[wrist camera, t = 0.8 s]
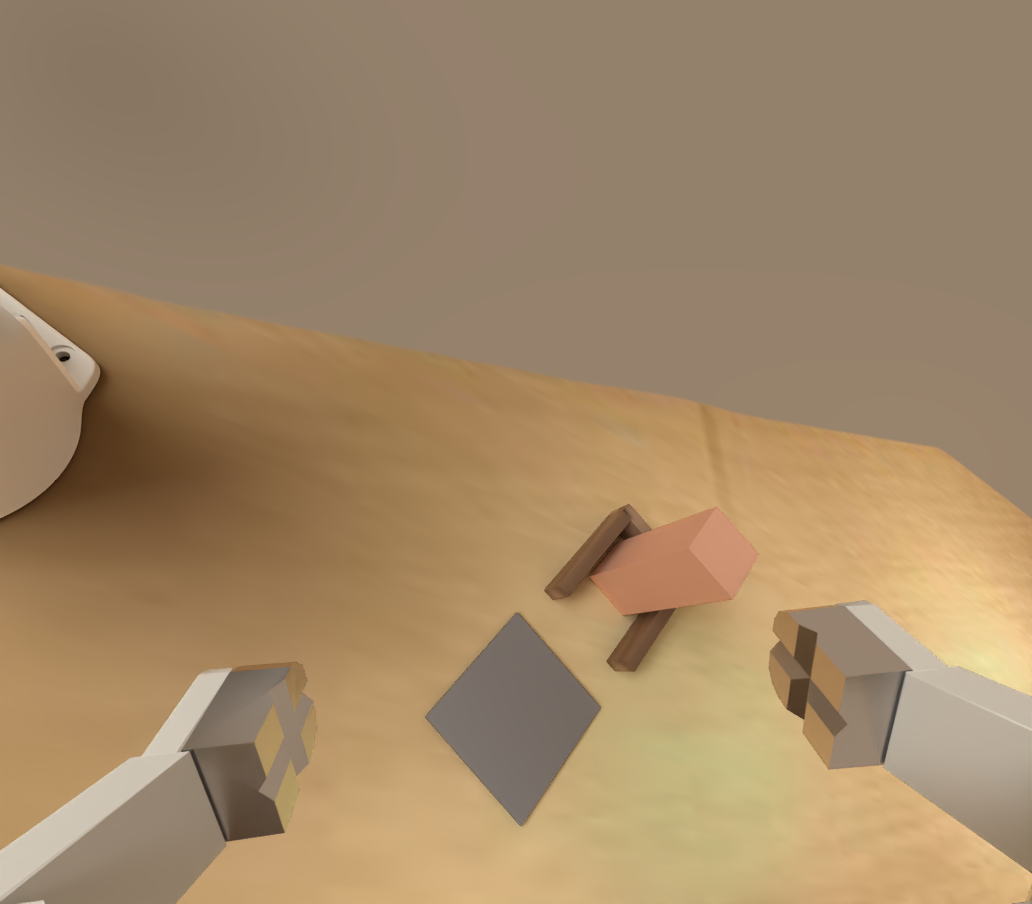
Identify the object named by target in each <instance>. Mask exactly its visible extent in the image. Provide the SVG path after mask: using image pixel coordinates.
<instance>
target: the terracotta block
mask: <svg viewBox="0 0 1032 904" xmlns="http://www.w3.org/2000/svg"><path fill="white" fill-rule="evenodd" d="M758 555H759V554H758V552H757V551H756V550H755V549H754V548H753V547H752V546H751V545H750V543H749V542H748V541H747V540H746V539H745V538H744V537H743V535H742V534H741V533H740V532H739V531H738V530H737V529H736V527H735V526H734V525H733V524H732V523H731V522H730V521H729V519H728V518H727V517H726V516H725V515H724V514H723V513H722V511H721V510H720V509H719V508H718V507H714V508H712V509H709V510H706V511H703V512H701V513H698V514H695V515H692V516H689V517H687V518H684V519H681V520H678V521H676V522H673V523H670V524H667V525H665V526H662V527H659V528H656V529H654V530H651V531H648V532H645V533H643V534H640V535H637V536H634V537H632V538H629V539H626V540H623V541H621V542H618V543H616V544H615V545H614V546H613V548H612V549H611V550H610V551H609V553H608V554H607V555H606V556H605V557H604V559H603V560H602V561H601V562H600V564H599V565H598V566H597V567H596V569H595V570H594V571H593V572H592V573H591V575H590V576H589V577H590V578H591V580H592V581H593V582H594V583H595V584H596V585H597V586H598V588H599V589H600V590H601V591H602V592H603V593H604V594H605V596H606V597H607V598H608V599H609V600H610V601H611V602H612V604H613V605H614V606H615V607H616V608H617V609H618V610H619V612H620V613H621V614H622V615H623V616H624V615H630V614H637V613H644V612H650V611H657V610H664V609H670V608H677V607H684V606H691V605H697V604H704V603H711V602H717V601H724V600H731V599H734V597H735V595H736V593H737V592H738V590H739V588H740V586H741V585H742V583H743V581H744V579H745V578H746V576H747V574H748V572H749V571H750V569H751V567H752V565H753V564H754V562H755V560H756V559H757V557H758Z"/></svg>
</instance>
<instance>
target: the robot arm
mask: <svg viewBox="0 0 1032 904" xmlns="http://www.w3.org/2000/svg"><path fill="white" fill-rule="evenodd" d="M65 356H67V357H70V359H69V360H68V361H65V362H60V361H59V359H60V358H62V357H65ZM99 377H100V368H99V366H98V364H97V363H96V362H95V361H94V360H93V359H92V358H91V357H90V356H89V355H88V354H87V353H85V352H84V351H83V350H81V349H80V348H79V347H77V346H76V345H75V344H73V343H72V342H71V341H69V340H68V339H67V338H66V337H64V336H63V335H62V334H60V333H59V332H58V331H56V330H55V329H54V328H52V327H51V326H50V325H48V324H47V323H46V322H45V321H43V320H42V319H41V318H39V317H38V316H37V315H35V314H34V313H33V312H31V311H30V310H29V309H27V308H26V307H25V306H24V305H22V304H21V303H20V302H18V301H17V300H16V299H14V298H13V297H12V296H10V295H9V294H8V293H6V292H5V291H4V290H3V289H1V288H0V518H2V517H4V516H6V515H8V514H10V513H12V512H14V511H16V510H17V509H19V508H21V507H23V506H24V505H26V504H27V503H29V502H30V501H32V500H33V499H35V498H36V497H37V496H39V495H40V494H41V493H42V492H44V491H45V490H46V489H47V488H48V487H49V486H50V485H51V484H52V483H53V482H54V481H55V480H56V479H57V478H58V477H59V476H60V474H61V473H62V472H63V471H64V469H65V468H66V466H67V465H68V463H69V462H70V460H71V458H72V456H73V454H74V452H75V450H76V447H77V444H78V441H79V437H80V432H81V420H82V409H83V405H84V402H85V400H86V399H87V397H88V396H89V394H90V393H91V391H92V390H93V388H94V387H95V385H96V383H97V382H98V379H99ZM773 632H774V633H775V634H776V636H777V637H778V638H779V639H780V641H779V642H778V643H777V644H776V645H775V647H774V648H773V649H772V650H771V651H770V660H769V670H770V675H771V679H772V684H773V686H774V688H775V691H776V693H777V695H778V697H779V699H780V700H781V702H782V703H783V705H784V706H785V708H786V709H787V710H788V711H790V712H792V713H793V714H795V715H797V716H798V717H800V718H802V719H803V720H804V724H803V734H804V735H805V737H806V738H807V739H808V741H809V742H810V744H811V745H812V746H813V748H814V749H815V751H816V752H817V754H818V755H819V756H820V758H821V759H822V761H823V762H824V764H825V765H826V766H827V768H828V769H840V768H852V767H863V766H875V765H884V766H883V768H884V769H886V770H887V771H888V772H890V773H891V774H893V775H894V776H895V777H897V778H898V779H900V780H901V781H902V782H904V783H905V784H907V785H908V786H910V787H911V788H912V789H914V790H915V791H917V792H918V793H919V794H921V795H922V796H924V797H925V798H926V799H928V800H929V801H931V802H932V803H933V804H935V805H936V806H938V807H939V808H941V809H942V810H943V811H945V812H946V813H948V814H949V815H950V816H952V817H953V818H955V819H956V820H957V821H959V822H960V823H962V824H963V825H964V826H966V827H967V828H969V829H970V830H972V831H973V832H974V833H976V834H977V835H979V836H980V837H981V838H983V839H984V840H986V841H987V842H988V843H990V844H991V845H993V846H994V847H995V848H997V849H998V850H1000V851H1001V852H1003V853H1004V854H1005V855H1007V856H1008V857H1010V858H1011V859H1012V860H1014V861H1015V862H1017V863H1018V864H1019V865H1021V866H1022V867H1024V868H1025V869H1026V870H1028V871H1029V872H1031V873H1032V696H1029V695H1027V694H1024V693H1022V692H1019V691H1017V690H1015V689H1012V688H1010V687H1007V686H1005V685H1003V684H1000V683H998V682H995V681H993V680H991V679H988V678H986V677H983V676H981V675H978V674H976V673H974V672H971V671H969V670H966V669H964V668H962V667H959V666H956V667H948V666H947V665H946V664H945V663H943V662H942V661H941V660H940V659H939V658H937V657H936V656H935V655H934V654H933V653H932V652H930V651H929V650H928V649H927V648H926V647H925V646H923V645H922V644H921V643H920V642H919V641H917V640H916V639H915V638H914V637H913V636H912V635H910V634H909V633H908V632H907V631H906V630H904V629H903V628H902V627H901V626H900V625H899V624H897V623H896V622H895V621H894V620H893V619H891V618H890V617H889V616H888V615H887V614H886V613H884V612H883V611H882V610H881V609H880V608H879V607H877V606H876V605H875V604H873V603H870V602H868V601H857V602H849V603H841V604H836V605H830V606H821V607H812V608H803V609H794V610H785V611H779V612H778V613H777V615H776V617H775V618H774V625H773ZM306 683H307V677H306V674H305V671H304V668H303V665H302V664H300V663H298V662H288V663H276V664H263V665H251V666H239V667H237V668H221V669H209V670H206V671H204V672H203V673H201V674H199V675H198V676H197V678H196V679H195V680H194V682H193V683H192V685H191V686H190V688H189V689H188V690H187V692H186V693H185V695H184V696H183V698H182V699H181V700H180V702H179V703H178V705H177V706H176V708H175V709H174V710H173V712H172V713H171V715H170V716H169V718H168V719H167V721H166V722H165V723H164V725H163V726H162V728H161V729H160V731H159V732H158V733H157V735H156V736H155V738H154V739H153V741H152V742H151V743H150V745H149V746H148V748H147V749H146V751H145V752H144V753H143V755H142V756H141V757H133V758H130V759H128V760H127V761H126V762H124V763H123V764H121V765H120V766H119V767H117V768H116V769H114V770H113V771H112V772H110V773H109V774H107V775H106V776H105V777H103V778H102V779H100V780H99V781H98V782H96V783H95V784H93V785H92V786H91V787H89V788H88V789H86V790H85V791H84V792H82V793H81V794H79V795H78V796H77V797H75V798H74V799H72V800H71V801H70V802H68V803H67V804H65V805H64V806H62V807H61V808H60V809H58V810H57V811H55V812H54V813H53V814H51V815H50V816H48V817H47V818H46V819H44V820H43V821H41V822H40V823H39V824H37V825H36V826H34V827H33V828H32V829H30V830H29V831H27V832H26V833H25V834H23V835H22V836H20V837H19V838H18V839H16V840H15V841H13V842H12V843H11V844H9V845H8V846H6V847H5V848H4V849H2V850H1V851H0V904H176V903H177V902H178V900H179V899H180V898H181V897H182V896H183V895H184V894H185V892H186V891H187V890H188V889H189V888H190V887H191V886H192V884H193V883H194V882H195V881H196V880H197V879H198V877H199V876H200V875H201V874H202V873H203V872H204V871H205V869H206V868H207V867H208V866H209V865H210V864H211V863H212V861H213V860H214V859H215V858H216V857H217V856H218V855H219V853H220V852H221V851H222V850H223V849H224V848H225V847H226V842H227V841H234V840H241V839H248V838H254V837H261V836H268V835H275V834H281V833H285V831H286V828H287V826H288V823H289V820H290V817H291V814H292V811H293V808H294V806H295V803H296V800H297V797H298V794H299V791H300V788H299V784H298V781H297V778H296V776H297V775H298V774H299V773H300V772H301V771H302V770H303V769H304V768H305V767H306V766H307V765H308V764H309V762H310V759H311V756H312V753H313V750H314V747H315V740H316V732H317V718H316V710H315V706H314V702H313V700H311V699H310V698H309V697H307V696H306V695H305V694H304V693H302V692H303V690H304V688H305V685H306ZM1012 904H1032V885H1031V888H1030V890H1029V893H1028V895H1027V897H1026V900H1025V902H1020V903H1012Z"/></svg>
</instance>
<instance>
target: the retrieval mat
mask: <svg viewBox="0 0 1032 904" xmlns="http://www.w3.org/2000/svg"><path fill="white" fill-rule="evenodd" d="M599 709H600V706H599V705H598V704H597V703H596V702H595V700H594V699H593V698H592V697H591V696H590V695H589V694H588V692H587V691H586V690H585V689H584V688H583V687H582V686H581V684H580V683H579V682H578V681H577V680H576V679H575V677H574V676H573V675H572V674H571V673H570V672H569V671H568V669H567V668H566V667H565V666H564V665H563V664H562V663H561V661H560V660H559V659H558V658H557V657H556V656H555V655H554V653H553V652H552V651H551V650H550V649H549V648H548V647H547V645H546V644H545V643H544V642H543V641H542V640H541V639H540V637H539V636H538V635H537V634H536V633H535V632H534V631H533V629H532V628H531V627H530V626H529V625H528V624H527V623H526V621H525V620H524V619H523V618H522V617H521V616H520V615H519V613H516V614H515V615H514V616H513V617H512V618H511V619H510V620H509V622H508V623H507V624H506V625H505V626H504V627H503V628H502V630H501V631H500V632H499V633H498V634H497V635H496V636H495V638H494V639H493V640H492V641H491V642H490V643H489V644H488V646H487V647H486V648H485V649H484V650H483V651H482V652H481V653H480V655H479V656H478V657H477V658H476V659H475V660H474V661H473V663H472V664H471V665H470V666H469V667H468V668H467V669H466V671H465V672H464V673H463V674H462V675H461V676H460V677H459V679H458V680H457V681H456V682H455V683H454V684H453V685H452V686H451V688H450V689H449V690H448V691H447V692H446V693H445V694H444V696H443V697H442V698H441V699H440V700H439V701H438V702H437V704H436V705H435V706H434V707H433V708H432V709H431V710H430V712H429V713H428V714H427V715H426V716H425V718H426V719H427V720H428V721H429V722H430V723H431V724H432V726H433V727H434V728H435V729H436V730H437V731H438V732H439V734H440V735H441V736H442V737H443V738H444V739H445V740H446V742H447V743H448V744H449V745H450V746H451V747H452V749H453V750H454V751H455V752H456V753H457V754H458V755H459V757H460V758H461V759H462V760H463V761H464V762H465V763H466V765H467V766H468V767H469V768H470V769H471V770H472V771H473V773H474V774H475V775H476V776H477V777H478V778H479V779H480V781H481V782H482V783H483V784H484V785H485V786H486V787H487V789H488V790H489V791H490V792H491V793H492V794H493V795H494V797H495V798H496V799H497V800H498V801H499V802H500V804H501V805H502V806H503V807H504V808H505V809H506V810H507V812H508V813H509V814H510V815H511V816H512V817H513V818H514V820H515V821H516V822H517V823H518V824H519V825H520V826H522V825H523V823H524V822H525V820H526V819H527V817H528V816H529V814H530V813H531V811H532V810H533V808H534V807H535V805H536V804H537V802H538V801H539V799H540V798H541V796H542V795H543V793H544V792H545V790H546V789H547V787H548V786H549V784H550V783H551V781H552V780H553V778H554V777H555V775H556V774H557V772H558V771H559V769H560V768H561V766H562V765H563V763H564V762H565V760H566V759H567V757H568V756H569V754H570V753H571V751H572V750H573V748H574V747H575V745H576V744H577V742H578V741H579V739H580V738H581V736H582V735H583V733H584V732H585V730H586V729H587V727H588V726H589V724H590V723H591V721H592V720H593V718H594V717H595V715H596V714H597V712H598V711H599Z"/></svg>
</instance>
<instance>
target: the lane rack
mask: <svg viewBox="0 0 1032 904" xmlns="http://www.w3.org/2000/svg"><path fill="white" fill-rule="evenodd" d="M651 530H652V529H651V528H650V527H649V526H648V525H647V524H646V522H645V521H644V520H643V519H642V518H641V517H640V516H639V514H638V513H637V512H636V511H635V510H634V509H633V508H632V506H631V505H630V504H628V505H625V506H623V507H621V508H619V509H617V510H614V511H612V512H611V513H610V515H609V516H608V517H607V518H606V519H605V520H604V522H603V523H602V524H601V525H600V526H599V527H598V528H597V530H596V531H595V532H594V533H593V534H592V535H591V537H590V538H589V539H588V540H587V541H586V542H585V543H584V545H583V546H582V547H581V548H580V549H579V550H578V552H577V553H576V554H575V555H574V556H573V557H572V558H571V560H570V561H569V562H568V563H567V564H566V565H565V567H564V568H563V569H562V570H561V571H560V572H559V573H558V575H557V576H556V577H555V578H554V579H553V580H552V582H551V583H550V584H549V585H548V586H547V587H546V588H545V592H546V593H547V594H548V595H549V596H550V597H551V598H552V600H554V599H558V598H563V597H567V596H569V595H570V594H571V593H572V591H573V590H574V589H575V588H576V587H577V585H578V584H579V583H580V582H581V580H582V579H583V578H584V577H585V576H586V574H587V573H588V572H589V571H590V570H591V568H592V567H593V566H594V565H595V563H596V562H597V561H598V560H599V559H600V557H601V556H602V555H603V554H604V552H605V551H606V550H607V549H608V548H609V546H610V545H611V544H612V543H613V542H614V540H615V539H616V538H617V537H618V535H619V534H620V535H621V537H622V538H623V539H624V540H626V539H629V538H632V537H634V536H637V535H640V534H643V533H645V532H648V531H651ZM675 609H676V608H670V609H664V610H657V611H650V612H644V613H640V614H639V616H638V617H637V618H636V620H635V621H634V623H633V624H632V626H631V627H630V628H629V630H628V631H627V633H626V634H625V636H624V637H623V638H622V640H621V641H620V643H619V644H618V646H617V647H616V648H615V650H614V651H613V653H612V654H611V656H610V657H609V659H608V660H607V663H608V664H609V665H610V666H611V667H612V668H613V669H614V671H635V670H636V669H637V667H638V665H639V664H640V662H641V661H642V659H643V658H644V656H645V655H646V653H647V652H648V650H649V649H650V647H651V646H652V644H653V642H654V641H655V639H656V638H657V636H658V635H659V633H660V632H661V630H662V629H663V627H664V626H665V624H666V622H667V621H668V619H669V618H670V616H671V615H672V613H673V612H674V610H675Z"/></svg>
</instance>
